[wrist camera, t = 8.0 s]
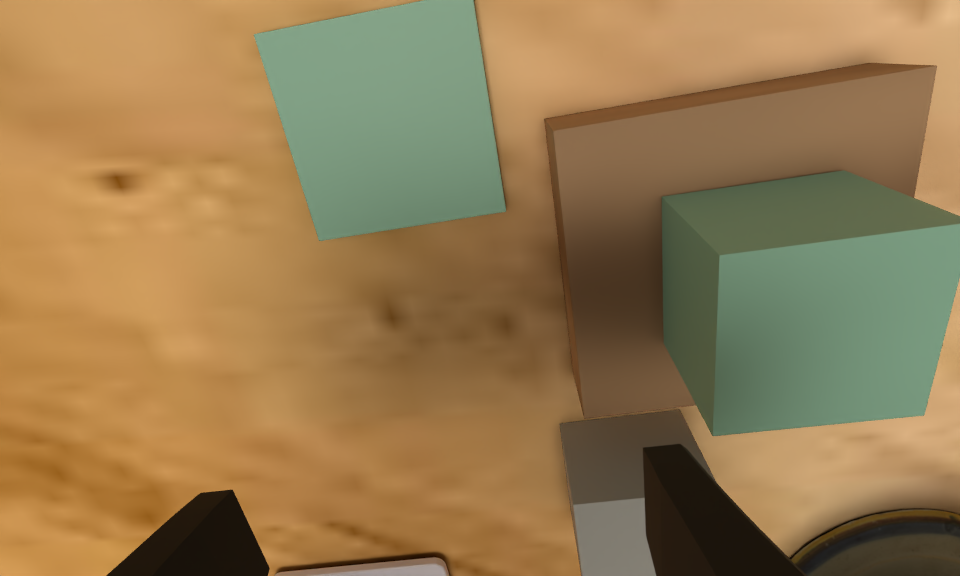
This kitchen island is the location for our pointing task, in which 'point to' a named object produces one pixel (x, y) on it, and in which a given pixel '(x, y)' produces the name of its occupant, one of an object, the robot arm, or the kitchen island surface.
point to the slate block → (616, 487)
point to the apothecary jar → (887, 546)
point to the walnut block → (697, 167)
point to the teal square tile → (387, 117)
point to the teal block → (806, 300)
